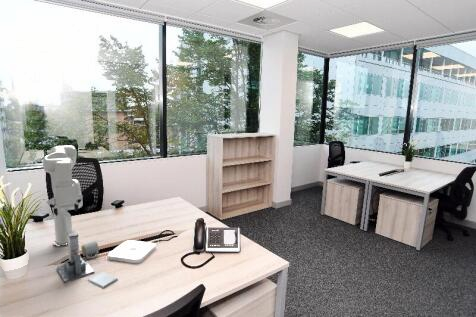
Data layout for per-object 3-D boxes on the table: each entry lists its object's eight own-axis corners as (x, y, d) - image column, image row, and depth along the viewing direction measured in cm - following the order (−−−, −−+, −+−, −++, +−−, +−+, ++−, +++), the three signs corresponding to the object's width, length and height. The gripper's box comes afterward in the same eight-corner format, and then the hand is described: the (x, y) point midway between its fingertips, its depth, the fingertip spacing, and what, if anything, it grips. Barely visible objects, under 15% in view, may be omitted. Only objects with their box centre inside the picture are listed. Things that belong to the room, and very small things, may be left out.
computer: (139, 264, 160) (139, 260, 160) (105, 259, 165) (105, 255, 164) (157, 247, 182) (157, 243, 181) (127, 243, 186) (127, 239, 185)
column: (68, 259, 151) (66, 233, 149) (77, 256, 154) (75, 231, 152) (71, 263, 147) (69, 236, 145) (80, 260, 150) (78, 234, 148)
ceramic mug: (81, 254, 169) (80, 242, 168) (95, 250, 175) (94, 238, 174) (86, 261, 162) (85, 249, 160) (101, 256, 167) (100, 245, 166)
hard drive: (117, 278, 144) (102, 271, 150) (103, 286, 137) (87, 278, 143) (117, 281, 144) (102, 274, 150) (103, 289, 137) (88, 281, 143)
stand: (56, 268, 153) (54, 248, 151) (84, 260, 163) (83, 240, 161) (64, 283, 140) (62, 261, 139) (94, 272, 150) (93, 252, 148)
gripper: (79, 179, 160) (81, 207, 164) (44, 184, 148) (46, 214, 152) (83, 182, 155) (85, 211, 158) (47, 187, 143) (49, 218, 146)
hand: (66, 212), depth 155 cm, fingers open, 9 cm apart
